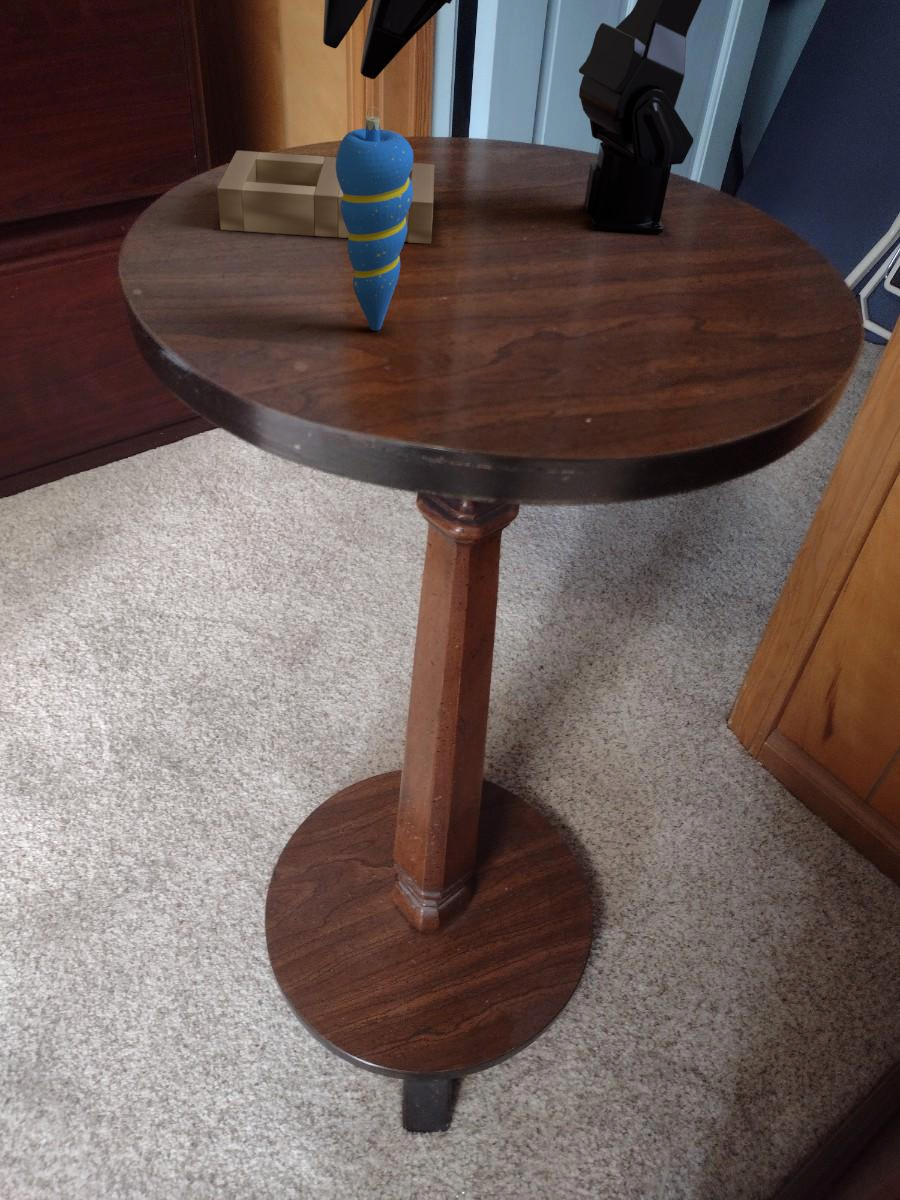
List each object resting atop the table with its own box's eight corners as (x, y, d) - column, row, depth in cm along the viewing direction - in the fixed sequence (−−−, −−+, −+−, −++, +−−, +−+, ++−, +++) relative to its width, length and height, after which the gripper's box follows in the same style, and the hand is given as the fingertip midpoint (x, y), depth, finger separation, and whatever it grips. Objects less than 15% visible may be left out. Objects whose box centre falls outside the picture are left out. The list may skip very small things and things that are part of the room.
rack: (432, 203, 91) (434, 164, 89) (430, 244, 83) (433, 202, 81) (239, 189, 90) (236, 150, 88) (220, 230, 83) (216, 187, 80)
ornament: (418, 342, 70) (429, 117, 60) (349, 350, 68) (349, 120, 58) (394, 311, 73) (401, 94, 63) (328, 318, 71) (325, 96, 62)
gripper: (273, -253, 67) (216, -7, 75) (358, -242, 54) (279, 52, 62) (412, -175, 73) (346, 46, 81) (518, -149, 60) (427, 109, 68)
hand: (347, 60), depth 73 cm, fingers open, 9 cm apart
